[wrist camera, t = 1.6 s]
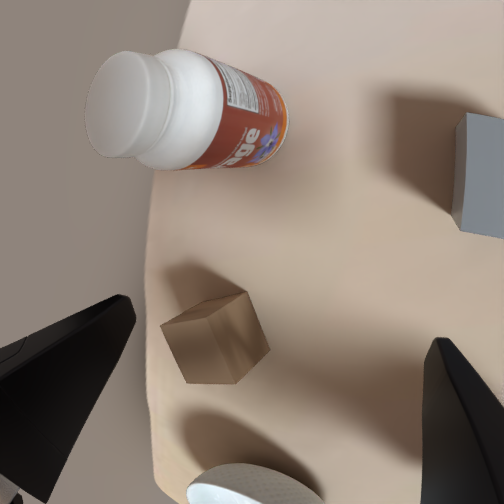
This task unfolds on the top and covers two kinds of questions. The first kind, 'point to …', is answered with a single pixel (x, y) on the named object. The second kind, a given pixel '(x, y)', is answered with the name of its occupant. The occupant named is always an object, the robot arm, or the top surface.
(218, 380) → the walnut cube
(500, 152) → the slate-grey cube
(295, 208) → the top surface
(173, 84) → the pill bottle
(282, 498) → the cereal bowl
